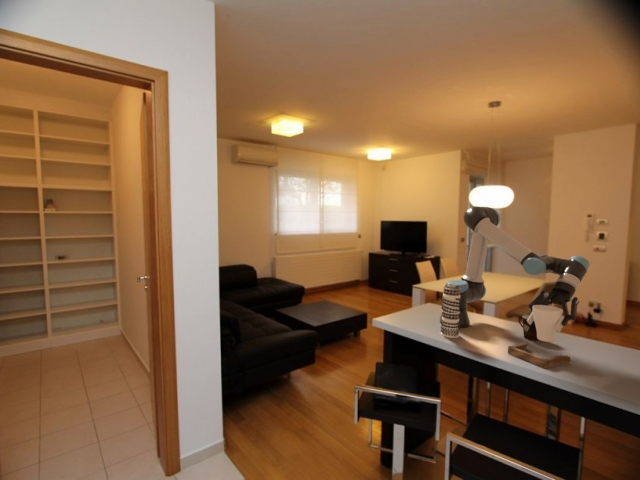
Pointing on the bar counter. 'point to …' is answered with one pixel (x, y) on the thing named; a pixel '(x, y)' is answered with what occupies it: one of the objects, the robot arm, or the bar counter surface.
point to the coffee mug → (529, 329)
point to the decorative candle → (450, 311)
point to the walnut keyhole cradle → (545, 363)
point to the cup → (546, 321)
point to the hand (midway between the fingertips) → (542, 326)
